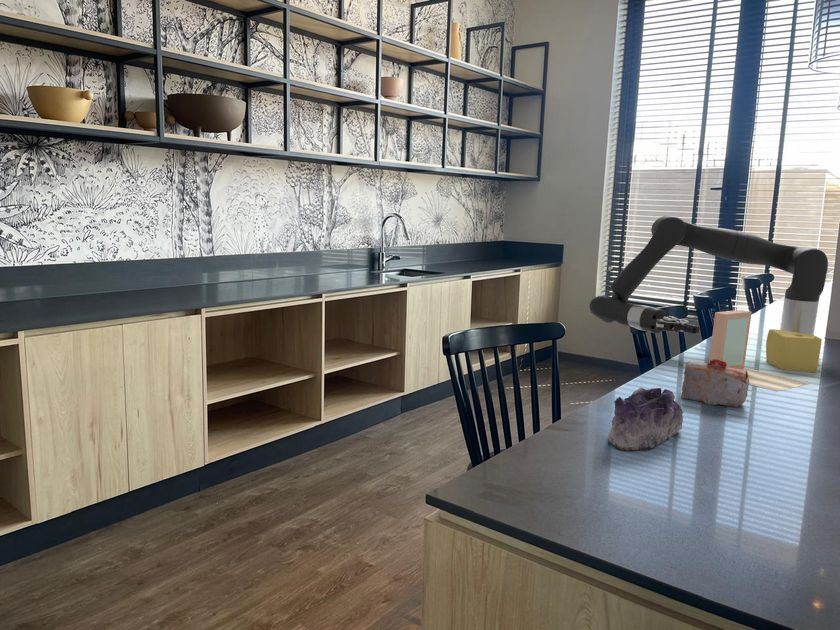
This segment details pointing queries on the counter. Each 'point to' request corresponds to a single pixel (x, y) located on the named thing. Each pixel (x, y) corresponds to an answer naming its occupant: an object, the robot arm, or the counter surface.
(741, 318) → the tile
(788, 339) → the cheese
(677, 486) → the counter surface
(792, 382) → the mat
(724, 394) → the food item
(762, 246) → the robot arm
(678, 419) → the geode
